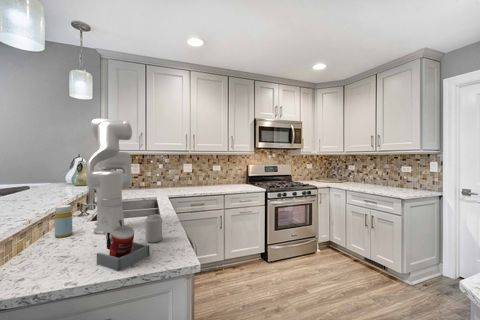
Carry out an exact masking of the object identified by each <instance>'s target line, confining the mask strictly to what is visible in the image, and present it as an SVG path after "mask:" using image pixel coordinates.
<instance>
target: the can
mask: <svg viewBox="0 0 480 320" xmlns="http://www.w3.org/2000/svg"><path fill="white" fill-rule="evenodd" d="M144 221H145V222H144V223H145V224H144V225H145V226H144V228H145V241H146V242H148V244H149V243H150V244H151V243H154V244H155V243H158V242H160V241H162V239H163V218H162V217H161V214H155V213H154V214H149V215H147V216H146V218H145V220H144Z"/></svg>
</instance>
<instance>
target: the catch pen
mask: <svg viewBox="0 0 480 320" xmlns="http://www.w3.org/2000/svg"><path fill="white" fill-rule="evenodd" d="M150 255H151V254H150V245H147V244H144V243H139V242H134V241H133V246H132V252H131V253H129V254H127V255H125V256H122V257H120V258H117V257H114V256H110V255H109V254H106V253H103V252H97V253H96V265H99V266H102V267H105V268H108V269H111V270H113V271H114V270H115V271H117V272H119V271H121V270H123V269H125V268H127V267H129V266H131V265H133V264H135V263H137V262H139V261H141V260H143V259H146V258H148V257H149V256H150Z"/></svg>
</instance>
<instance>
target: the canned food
mask: <svg viewBox="0 0 480 320" xmlns="http://www.w3.org/2000/svg"><path fill="white" fill-rule="evenodd" d="M134 238H135V229H134V228H133V227H130V226H129V225H128V226H127V225H124V226H120V227H118V228H117V229H113V231H112V235H111V244H110V250H109V254H108V255H110V256H114V257H117V258H120V257H122V256H125V255H127V254H129V253H131V252H132V246H133V242H134Z"/></svg>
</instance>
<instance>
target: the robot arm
mask: <svg viewBox="0 0 480 320" xmlns="http://www.w3.org/2000/svg"><path fill="white" fill-rule="evenodd" d="M90 126H91V131H92V135H94V138H95V141H96V143H97V151H96V152H94V153H93V154H92V155H91V156H90V157H89V159H88V160H87V163H86V167H85V182H86V186H87V187H88V188H89V189H91V190H92V189H93V190H95V191H96V222H94V225H95V226H96V228H94V229H93V233H94V234H96V235H97V234H98V235H105V239H106V249H107V250H109V251H110V244H111V235H112V231H113V229H117V228H118V227H120V226H125V218H124V217H125V216H124V210H123V191H122V190H123V189H128V188H130V187H131V185H132V158H131V155H130V154H129V153H128V152H126V151H120V141H130V140H131V139H132V137H133V129H132V126H131V123H130V122H129V120H126V119H113V118H100V117H99V118H95V119H92V120H91V123H90ZM96 165H98V167H99V169H101V170H95V169H94V168H95V167H96Z"/></svg>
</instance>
